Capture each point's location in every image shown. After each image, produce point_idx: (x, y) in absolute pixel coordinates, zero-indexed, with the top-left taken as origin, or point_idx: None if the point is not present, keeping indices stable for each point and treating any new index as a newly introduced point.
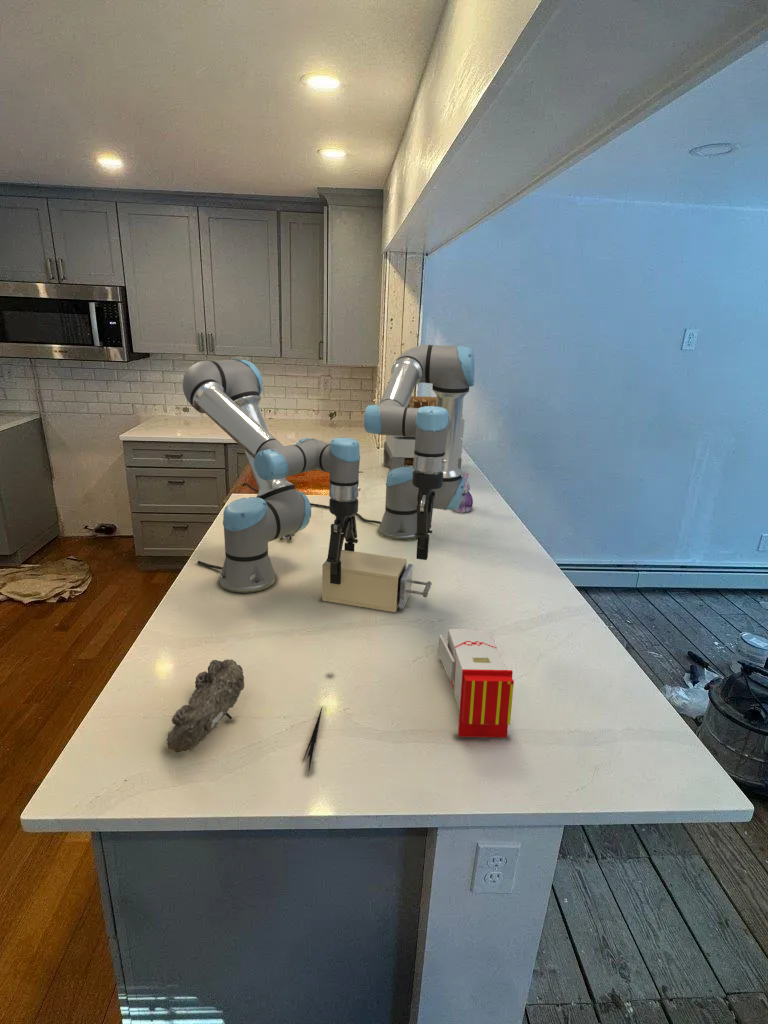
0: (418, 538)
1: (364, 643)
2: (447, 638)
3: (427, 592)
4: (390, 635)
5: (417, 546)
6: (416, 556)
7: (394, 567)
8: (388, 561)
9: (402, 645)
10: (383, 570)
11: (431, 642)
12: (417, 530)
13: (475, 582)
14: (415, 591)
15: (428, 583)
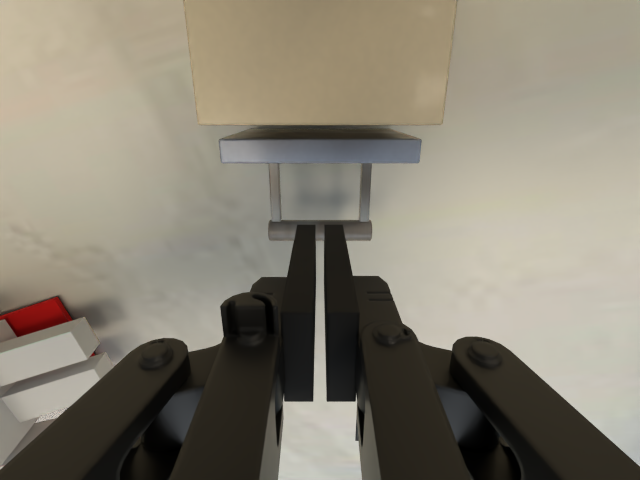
0: (284, 303)
1: (7, 59)
2: (81, 319)
3: (278, 240)
4: (99, 135)
5: (291, 262)
6: (297, 230)
7: (302, 77)
8: (375, 15)
9: (67, 183)
10: (236, 16)
11: (125, 257)
12: (66, 421)
13: (522, 328)
14: (275, 193)
15: (350, 233)
